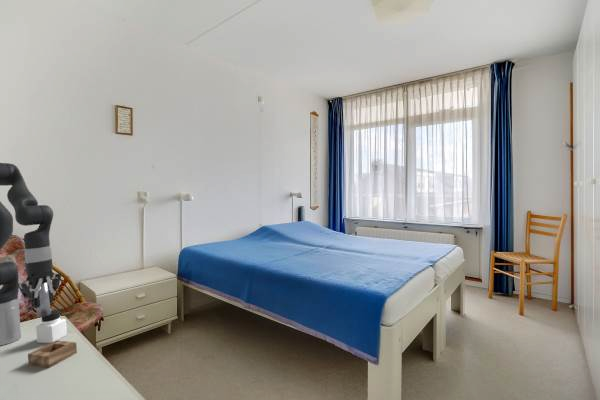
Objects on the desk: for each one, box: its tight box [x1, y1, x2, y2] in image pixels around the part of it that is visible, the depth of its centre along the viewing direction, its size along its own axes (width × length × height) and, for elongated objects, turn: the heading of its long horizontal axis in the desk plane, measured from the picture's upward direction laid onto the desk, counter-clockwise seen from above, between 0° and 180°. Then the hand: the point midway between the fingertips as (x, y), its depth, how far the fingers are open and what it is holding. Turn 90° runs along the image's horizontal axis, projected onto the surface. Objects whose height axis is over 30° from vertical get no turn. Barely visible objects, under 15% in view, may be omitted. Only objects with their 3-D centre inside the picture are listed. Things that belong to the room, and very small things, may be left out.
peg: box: [34, 282, 52, 318], centre depth 113 cm, size 4×4×12 cm
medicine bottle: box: [35, 308, 68, 344], centre depth 129 cm, size 7×7×12 cm
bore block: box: [27, 340, 78, 369], centre depth 113 cm, size 10×10×4 cm
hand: (42, 305), depth 113 cm, fingers closed on peg, 4 cm apart
